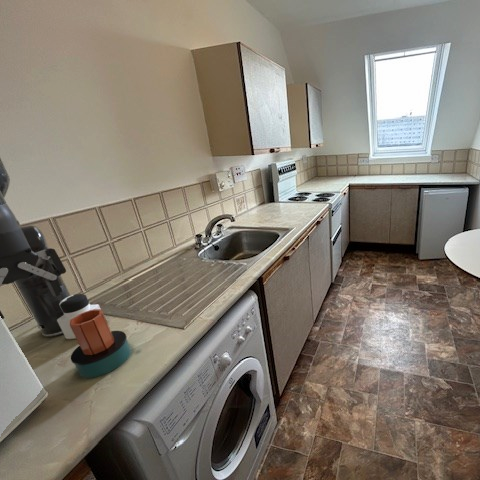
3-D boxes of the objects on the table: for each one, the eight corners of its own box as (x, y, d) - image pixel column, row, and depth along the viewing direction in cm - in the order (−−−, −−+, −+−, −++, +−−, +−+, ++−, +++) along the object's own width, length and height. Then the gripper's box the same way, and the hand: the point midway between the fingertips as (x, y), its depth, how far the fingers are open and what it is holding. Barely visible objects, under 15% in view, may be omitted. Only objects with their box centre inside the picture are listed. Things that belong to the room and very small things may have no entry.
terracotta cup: (84, 345, 69) (70, 316, 65) (113, 333, 72) (101, 306, 69) (83, 358, 64) (68, 328, 61) (115, 345, 68) (102, 316, 64)
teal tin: (79, 359, 71) (71, 345, 69) (129, 338, 77) (123, 324, 76) (77, 387, 62) (69, 371, 61) (134, 361, 69) (128, 346, 67)
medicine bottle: (107, 322, 86) (93, 290, 81) (89, 337, 79) (73, 303, 75) (84, 324, 86) (70, 292, 81) (65, 339, 79) (48, 305, 75)
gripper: (33, 220, 56) (65, 286, 62) (-80, 243, 45) (-29, 323, 50) (49, 221, 53) (80, 292, 59) (-69, 246, 41) (-16, 332, 47)
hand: (30, 306), depth 54 cm, fingers open, 8 cm apart
